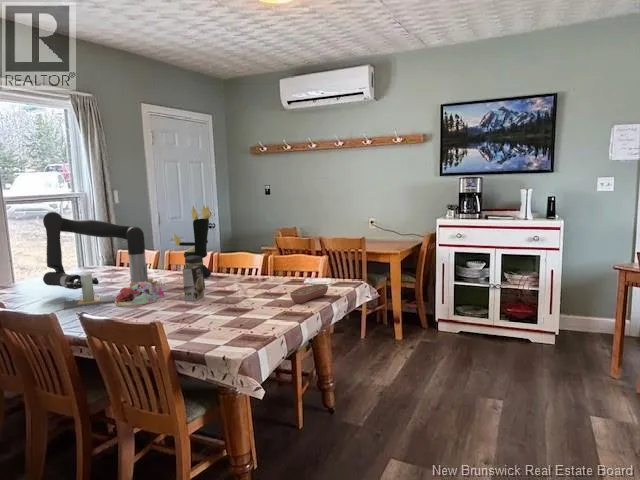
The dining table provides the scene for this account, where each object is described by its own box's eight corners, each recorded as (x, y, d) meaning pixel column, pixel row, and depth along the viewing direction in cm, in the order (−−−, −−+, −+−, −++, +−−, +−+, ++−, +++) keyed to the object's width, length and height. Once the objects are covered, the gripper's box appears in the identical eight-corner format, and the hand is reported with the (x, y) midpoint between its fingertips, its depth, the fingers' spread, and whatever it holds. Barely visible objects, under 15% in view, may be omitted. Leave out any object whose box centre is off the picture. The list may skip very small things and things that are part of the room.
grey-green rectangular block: (94, 298, 229) (91, 273, 227) (94, 300, 224) (91, 275, 223) (83, 300, 226) (80, 274, 225) (83, 302, 222) (80, 276, 220)
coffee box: (196, 301, 220) (193, 268, 218) (184, 301, 222) (181, 268, 220) (204, 296, 229) (202, 265, 227) (193, 296, 231) (190, 265, 228)
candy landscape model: (114, 297, 236) (112, 280, 235) (161, 291, 246) (160, 274, 245) (115, 309, 214) (113, 290, 212) (167, 301, 223) (165, 283, 222)
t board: (111, 292, 245) (111, 290, 245) (114, 302, 225) (113, 299, 225) (65, 299, 235) (65, 296, 235) (63, 309, 215) (63, 307, 215)
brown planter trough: (301, 307, 204) (300, 296, 203) (285, 303, 210) (284, 293, 209) (332, 295, 221) (331, 285, 220) (316, 293, 227) (316, 283, 227)
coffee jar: (207, 288, 246) (205, 255, 243) (196, 291, 239) (193, 257, 237) (196, 286, 251) (193, 253, 249) (184, 289, 245) (181, 256, 243)
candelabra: (200, 272, 291) (195, 202, 285) (224, 275, 278) (219, 202, 272) (175, 278, 276) (169, 204, 270) (199, 282, 263) (193, 204, 257)
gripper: (56, 276, 226) (74, 279, 217) (84, 271, 237) (102, 273, 229) (58, 291, 227) (76, 294, 218) (85, 285, 238) (103, 288, 230)
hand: (89, 284), depth 223 cm, fingers open, 8 cm apart
